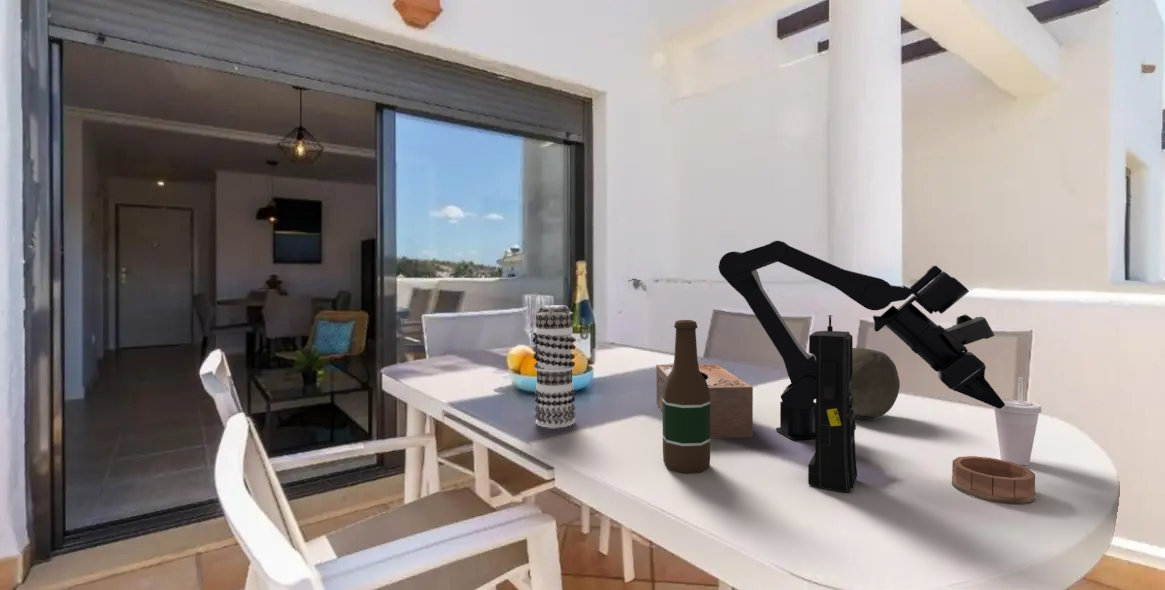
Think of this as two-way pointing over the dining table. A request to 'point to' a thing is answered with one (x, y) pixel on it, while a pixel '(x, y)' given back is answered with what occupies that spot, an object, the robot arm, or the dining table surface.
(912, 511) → the dining table surface
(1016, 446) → the smoothie
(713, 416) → the tissue box cover
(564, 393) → the decorative candle
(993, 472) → the round brown planter pot
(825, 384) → the portable radio
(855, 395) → the round brown rock
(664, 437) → the beer bottle
